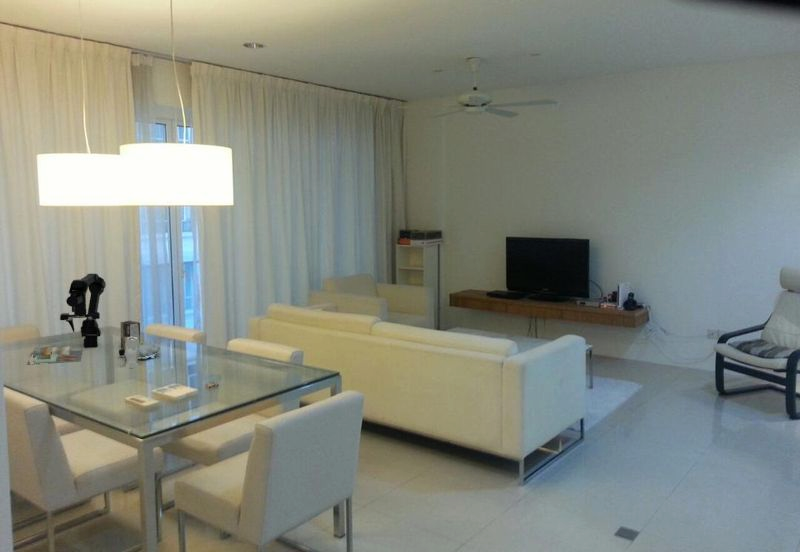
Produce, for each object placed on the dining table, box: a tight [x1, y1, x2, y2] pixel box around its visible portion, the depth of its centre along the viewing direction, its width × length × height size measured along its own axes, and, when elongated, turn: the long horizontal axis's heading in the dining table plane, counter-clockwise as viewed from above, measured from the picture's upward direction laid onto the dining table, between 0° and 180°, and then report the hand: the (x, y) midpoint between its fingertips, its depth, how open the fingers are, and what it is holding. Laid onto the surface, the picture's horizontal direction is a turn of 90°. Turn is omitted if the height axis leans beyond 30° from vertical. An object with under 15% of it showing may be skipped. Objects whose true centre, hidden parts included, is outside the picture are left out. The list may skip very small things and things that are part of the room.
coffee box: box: [120, 320, 141, 350], centre depth 340 cm, size 9×6×16 cm
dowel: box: [41, 346, 51, 359], centre depth 313 cm, size 4×4×6 cm
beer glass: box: [125, 337, 140, 365], centre depth 310 cm, size 7×7×15 cm
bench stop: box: [32, 346, 42, 358], centre depth 322 cm, size 3×9×4 cm, turn 25°
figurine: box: [118, 342, 161, 359], centre depth 328 cm, size 17×8×20 cm
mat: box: [26, 349, 84, 366], centre depth 321 cm, size 24×24×1 cm
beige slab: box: [51, 345, 71, 356], centre depth 327 cm, size 8×8×3 cm
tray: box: [34, 354, 58, 365], centre depth 313 cm, size 10×10×2 cm
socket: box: [60, 355, 76, 362], centre depth 318 cm, size 7×7×1 cm
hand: (80, 331), depth 329 cm, fingers open, 6 cm apart
